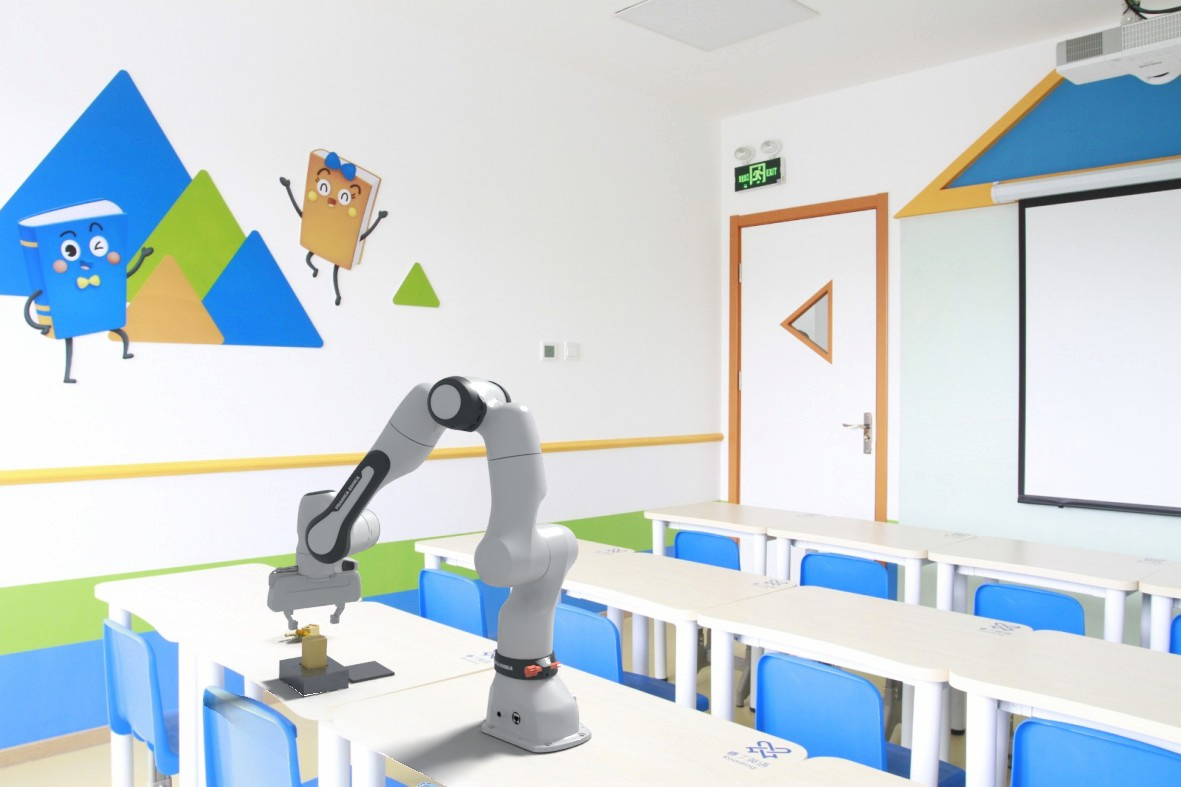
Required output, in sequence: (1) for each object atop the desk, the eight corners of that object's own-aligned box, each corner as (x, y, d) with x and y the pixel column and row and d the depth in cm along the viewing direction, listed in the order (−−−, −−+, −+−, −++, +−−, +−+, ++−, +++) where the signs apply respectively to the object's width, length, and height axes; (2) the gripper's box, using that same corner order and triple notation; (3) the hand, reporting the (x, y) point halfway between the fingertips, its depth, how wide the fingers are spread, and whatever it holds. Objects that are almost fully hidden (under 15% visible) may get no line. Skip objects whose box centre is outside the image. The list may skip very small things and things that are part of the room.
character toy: (282, 628, 226) (302, 621, 234) (282, 641, 226) (302, 633, 234) (309, 632, 224) (328, 625, 231) (309, 645, 224) (328, 637, 231)
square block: (325, 683, 197) (327, 638, 197) (308, 687, 195) (309, 641, 195) (318, 678, 200) (319, 634, 200) (300, 682, 198) (302, 636, 198)
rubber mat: (394, 675, 204) (394, 672, 204) (353, 683, 198) (353, 680, 198) (374, 663, 212) (374, 660, 212) (334, 670, 206) (334, 668, 206)
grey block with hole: (348, 687, 195) (349, 669, 195) (303, 696, 189) (304, 677, 189) (322, 670, 206) (322, 652, 206) (278, 678, 200) (279, 660, 200)
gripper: (274, 571, 188) (271, 637, 189) (365, 561, 201) (363, 623, 201) (263, 565, 193) (261, 629, 193) (353, 556, 206) (351, 616, 206)
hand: (314, 626), depth 198 cm, fingers open, 8 cm apart
